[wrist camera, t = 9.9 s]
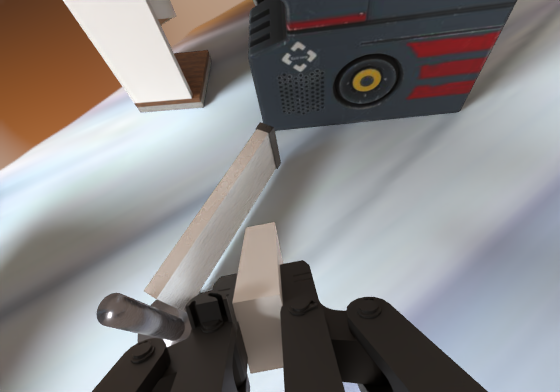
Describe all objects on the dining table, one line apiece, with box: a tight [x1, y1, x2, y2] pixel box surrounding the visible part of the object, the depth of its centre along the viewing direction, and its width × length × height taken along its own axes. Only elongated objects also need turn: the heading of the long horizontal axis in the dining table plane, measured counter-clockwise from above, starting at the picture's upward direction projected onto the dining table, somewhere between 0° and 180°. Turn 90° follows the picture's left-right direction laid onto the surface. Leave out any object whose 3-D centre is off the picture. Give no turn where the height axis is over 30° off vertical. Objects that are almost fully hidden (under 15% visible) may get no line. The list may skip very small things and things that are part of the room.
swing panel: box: [144, 122, 281, 312], centre depth 35 cm, size 21×2×7 cm, turn 152°
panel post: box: [97, 293, 192, 347], centre depth 30 cm, size 8×8×12 cm
